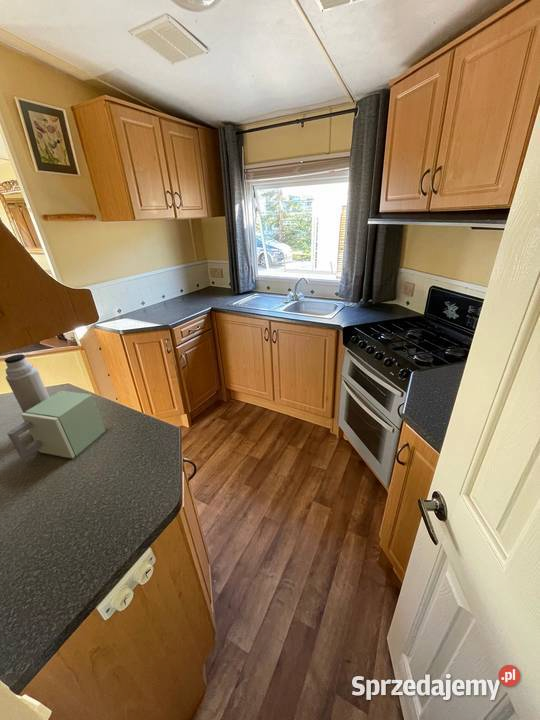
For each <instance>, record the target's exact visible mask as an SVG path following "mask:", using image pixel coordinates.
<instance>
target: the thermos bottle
mask: <svg viewBox="0 0 540 720" xmlns="http://www.w3.org/2000/svg"><path fill="white" fill-rule="evenodd" d="M4 363H5V365H6V367H7V368H6V369H5V374H6V376H5V380H6V381H7V384H8V386H9V387H10V389H11V391H12V393H13V395H14V397H15V399H16V401H17V403H18V405H19V407H20V409H21V411H22V414H23V413H25V411H27V410H29V409H31V408H32V407H34V406H36V405H37V404H39V403H41V402H42V401H44V400H46V399H47V398H49V397H50V395H49V392H48V391H47V388H46V386H45V384H44V382H43V380H42V377H41V375H40V373H39V370H38V369H37V368H36V367H33V366H34V364H32V363H31V362H29V361H27V359H26V356H25V355H24V354H23V353H22V354H21V353H20V354H19V353H18V354H15V355H11V356H7V357H6V358H4Z"/></svg>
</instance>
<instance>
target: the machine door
mask: <svg viewBox="0 0 540 720" xmlns="http://www.w3.org/2000/svg"><path fill="white" fill-rule="evenodd" d="M20 415H21V418H22V419H23V422H22V423H20V424H19V425H17V426H16V427H14V428H12V429H11V430H9V431H8V432H7V433H6V434H7V437H8V438H9V440H10V441H11V444H12V445H13V447H14V448H15V450H16V452H17V455H18V456H19V458H20V459H23V460H24V459H26V458H27V457H29V456H30V455H32V454H33V453H35V452H36V451H37V450H39V452H40V453H42V454H47V455H52V456H56V457H57V456H58V457H62V458H68V459H74V458H75V457H76V456H75V455H74V453H73V450H72V448H71V446H70V444H69V441H68V439H67V437H66V435H65V433H64V430H63V428H62V426H61V424H60V421H59V419H58V418H55V417H49V416H42V415H36V414H29V413H23V412H22V413H21V414H20ZM27 431H29V433H30V436H31V438H32V439H33V441H32V442H31V443H29V444H28V445H26V447H25V446H24V444H23V442H22V439H20V436H21V435H23V434H24V433H26V432H27Z"/></svg>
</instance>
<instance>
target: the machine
mask: <svg viewBox="0 0 540 720" xmlns="http://www.w3.org/2000/svg"><path fill="white" fill-rule="evenodd" d="M25 413H29V414H36V415H42V416H49V417H55V418H58V419H59V421H60V424H61V426H62V428H63V430H64V433H65V435H66V437H67V439H68V441H69V444H70V446H71V448H72V450H73V453H74V455H75V457H77V456H78V455H79V454H80V453H82V452H83V451H84V450H85V449H87V447H89V446H90V445H91V444H92V443H93V442H95V441H96V440H97V439H98V438H99V437H101V435H103V434H104V433H105V432H106V429H105V425H104V423H103V420H102V417H101V415H100V413H99V410H98V406H97V405H96V402H95V399H94V397H93V394H92V393H91V394H90V393H83V392H76V391H75V392H74V391H68V390H67V391H66V390H59V391H58V392H56V393H54V394H52V395H50V396H49V398H47V399H46V400H44V401H42V402H41V403H39V404H37V405H36V406H34V407H32V408H31V409H29V410H27V411H25Z"/></svg>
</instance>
